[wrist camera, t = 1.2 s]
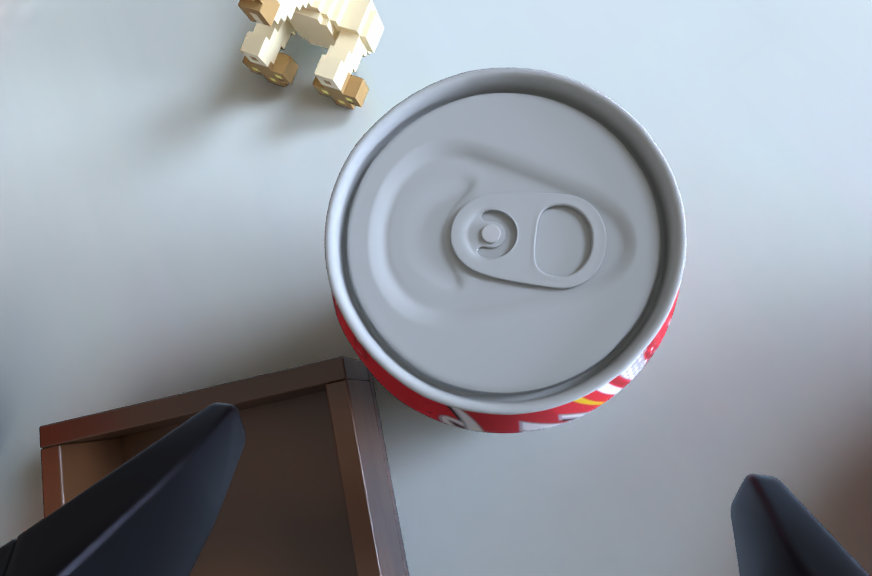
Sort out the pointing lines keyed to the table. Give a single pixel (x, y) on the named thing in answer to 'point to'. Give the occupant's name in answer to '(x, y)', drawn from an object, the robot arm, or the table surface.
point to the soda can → (505, 249)
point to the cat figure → (313, 42)
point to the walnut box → (264, 471)
